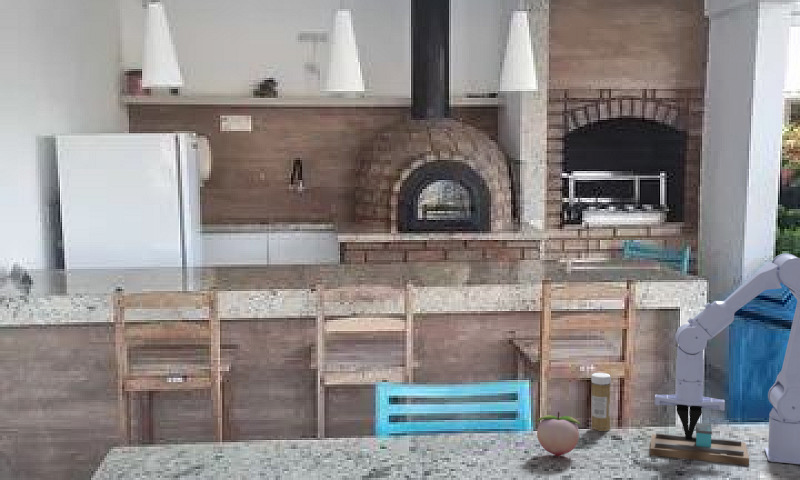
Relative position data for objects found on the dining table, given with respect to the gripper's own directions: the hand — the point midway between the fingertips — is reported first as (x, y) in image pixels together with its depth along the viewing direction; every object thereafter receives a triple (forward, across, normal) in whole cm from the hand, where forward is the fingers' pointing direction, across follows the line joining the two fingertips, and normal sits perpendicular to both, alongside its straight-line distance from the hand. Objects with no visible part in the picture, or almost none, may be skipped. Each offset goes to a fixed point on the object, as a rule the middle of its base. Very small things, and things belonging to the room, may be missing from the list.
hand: (688, 438), depth 176 cm
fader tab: (+1, -3, 0) cm, 3 cm away
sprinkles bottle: (+3, +20, -10) cm, 23 cm away
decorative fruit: (+3, +27, +12) cm, 30 cm away
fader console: (+3, -2, 0) cm, 4 cm away
